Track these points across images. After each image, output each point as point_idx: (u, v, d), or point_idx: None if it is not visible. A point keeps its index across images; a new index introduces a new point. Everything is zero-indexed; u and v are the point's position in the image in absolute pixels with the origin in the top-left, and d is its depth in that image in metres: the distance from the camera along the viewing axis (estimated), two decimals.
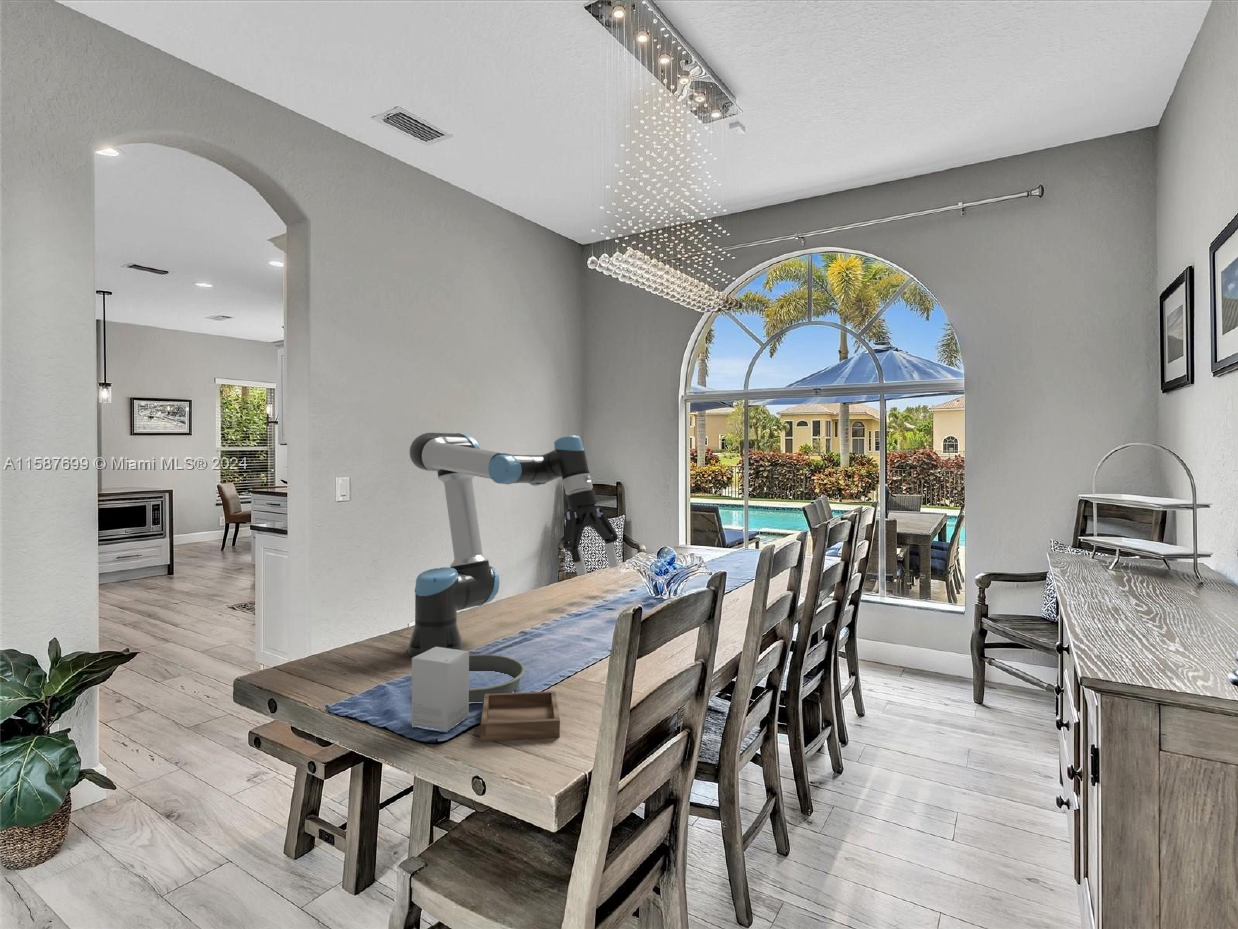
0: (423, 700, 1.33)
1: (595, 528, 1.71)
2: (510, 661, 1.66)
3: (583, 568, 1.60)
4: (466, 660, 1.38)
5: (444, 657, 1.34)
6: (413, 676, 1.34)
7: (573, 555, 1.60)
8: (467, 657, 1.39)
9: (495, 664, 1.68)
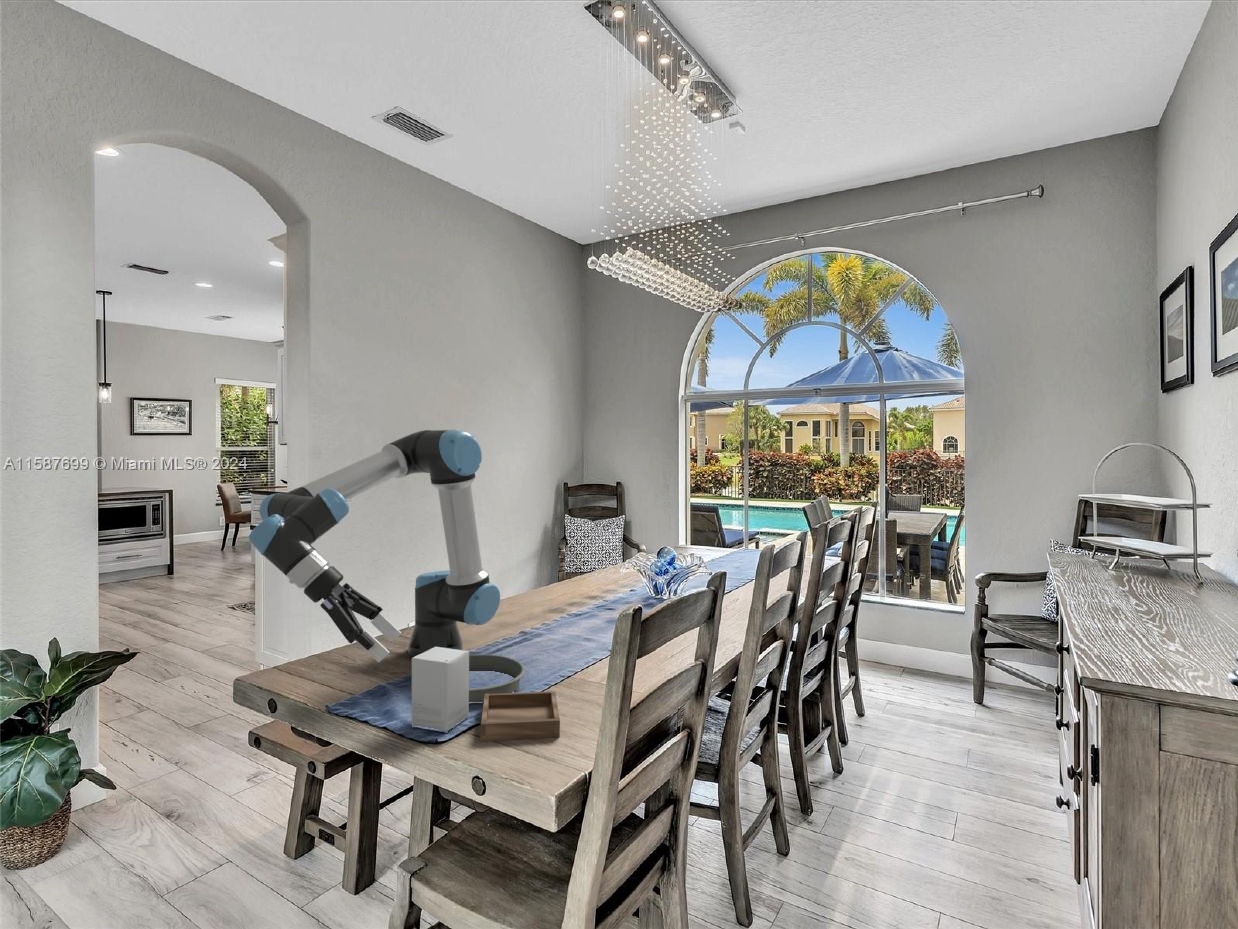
0: (423, 700, 1.33)
1: None
2: (510, 661, 1.66)
3: None
4: (466, 660, 1.38)
5: (444, 657, 1.34)
6: (413, 676, 1.34)
7: None
8: (467, 657, 1.39)
9: (495, 664, 1.68)
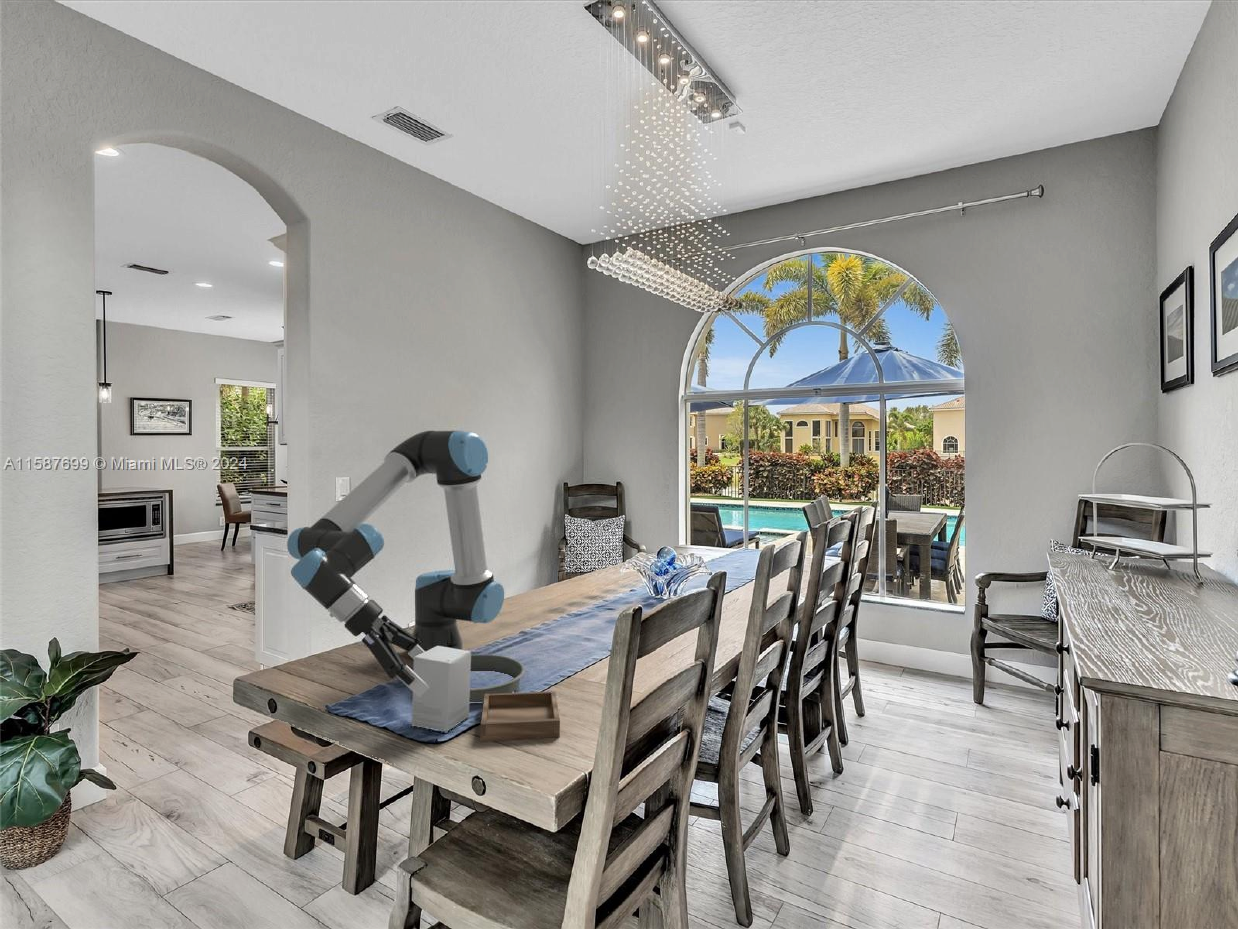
0: (423, 699, 1.33)
1: None
2: (510, 661, 1.66)
3: None
4: (468, 660, 1.38)
5: (446, 657, 1.34)
6: None
7: None
8: (469, 657, 1.38)
9: (495, 664, 1.68)
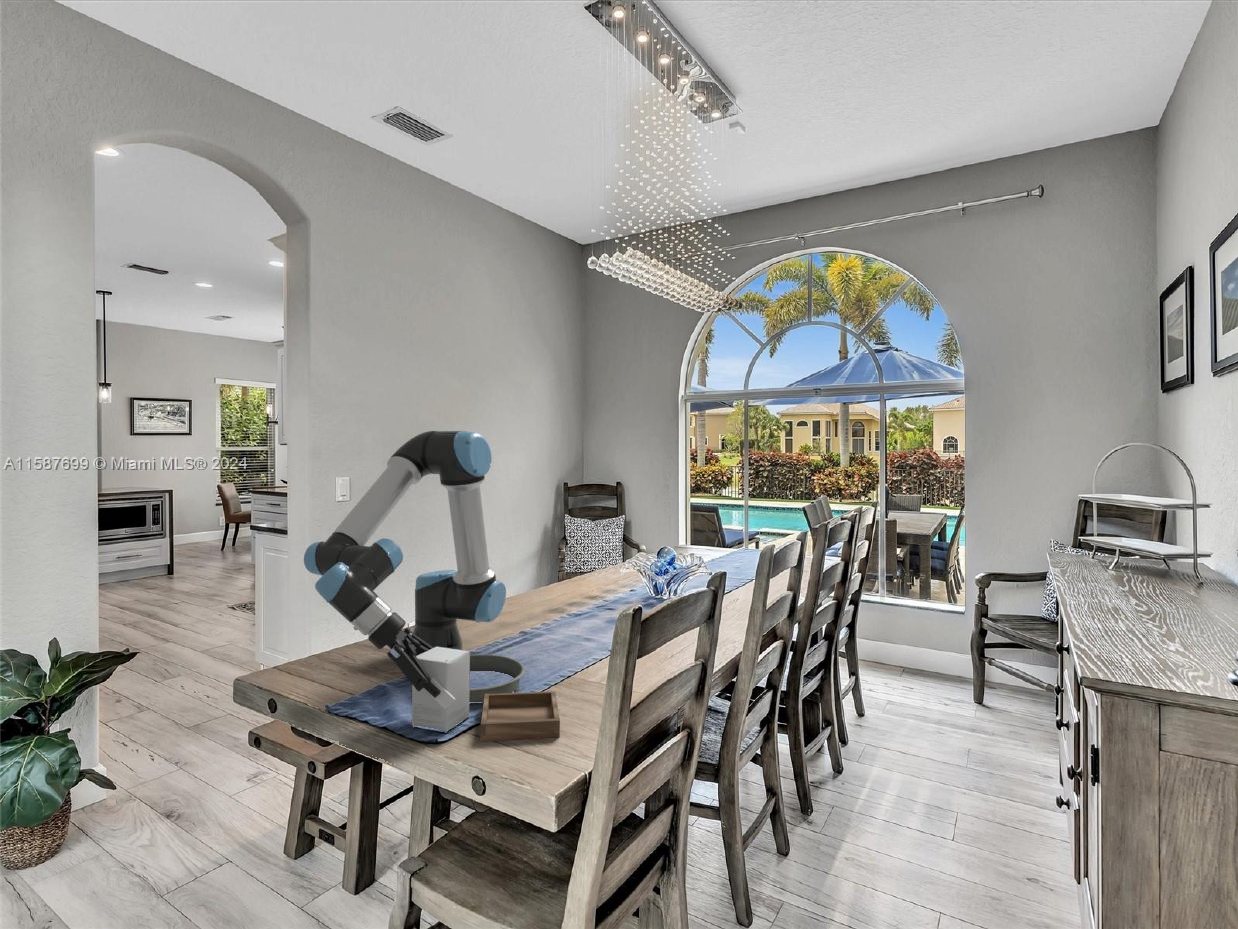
0: (423, 700, 1.33)
1: None
2: (510, 661, 1.66)
3: None
4: (467, 660, 1.38)
5: (444, 657, 1.34)
6: None
7: None
8: (468, 657, 1.38)
9: (495, 664, 1.68)
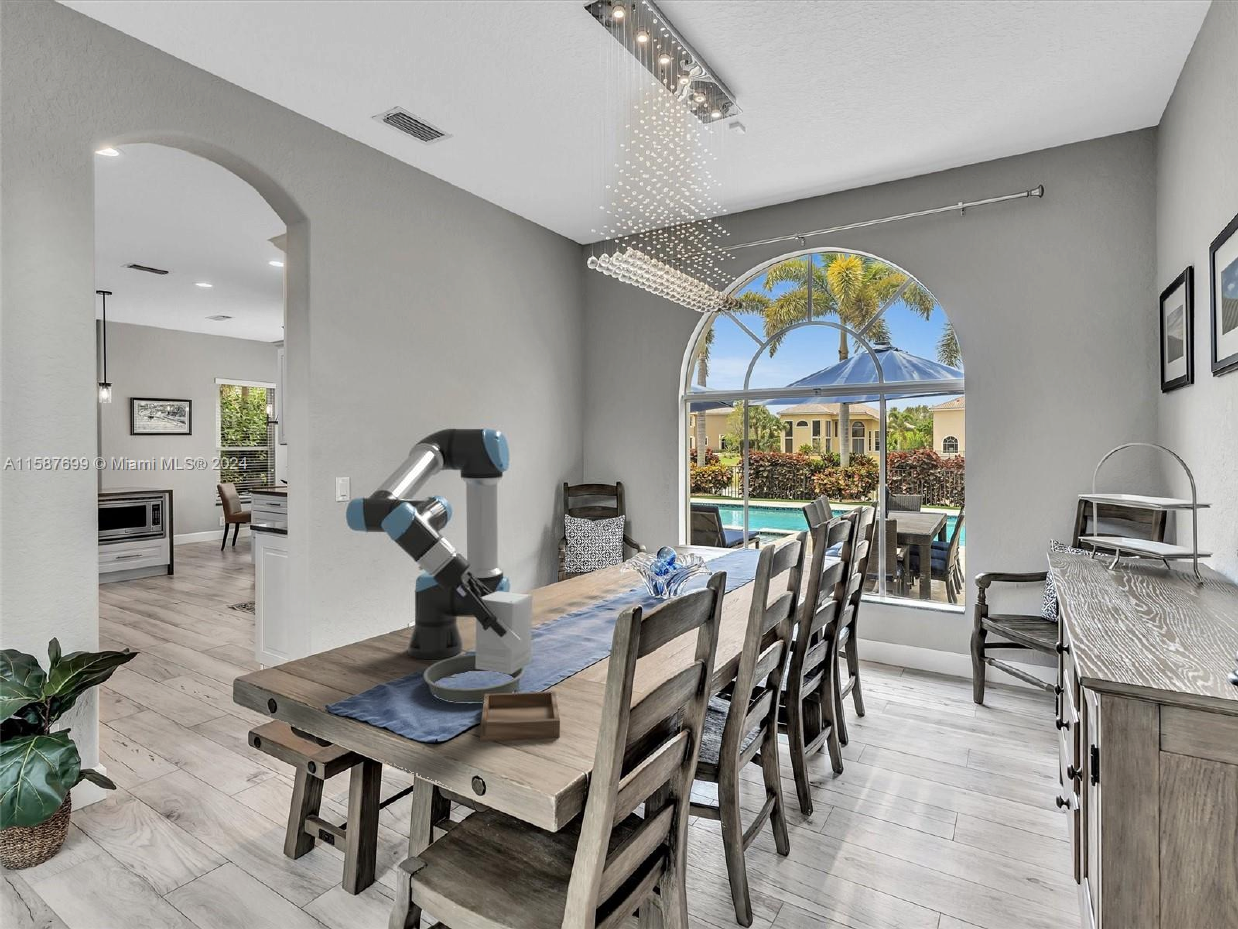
0: (487, 641, 1.32)
1: None
2: None
3: None
4: (529, 604, 1.37)
5: (508, 599, 1.34)
6: None
7: None
8: (530, 600, 1.38)
9: None
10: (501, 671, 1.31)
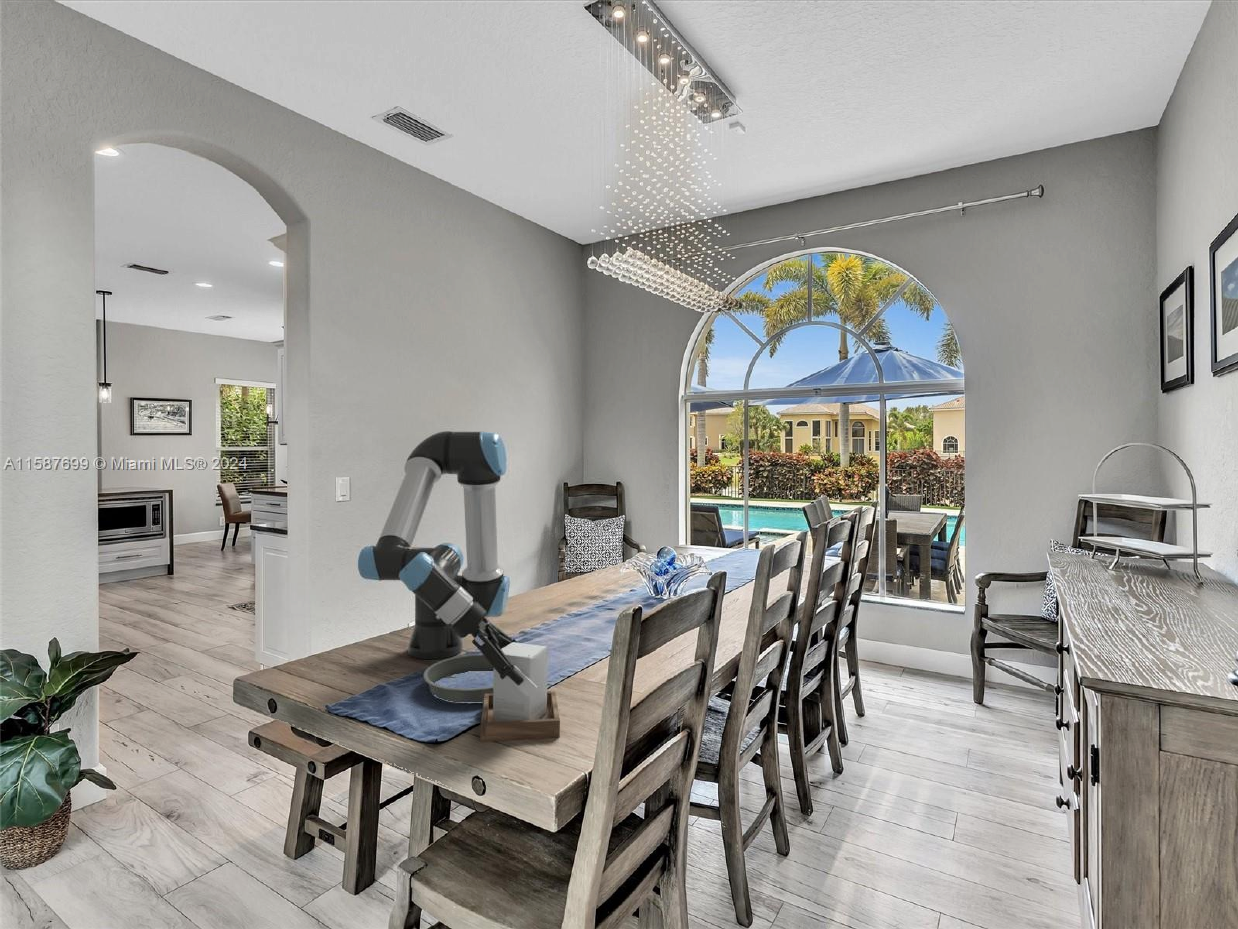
0: (505, 695, 1.34)
1: None
2: None
3: None
4: (545, 655, 1.39)
5: (525, 652, 1.35)
6: (495, 671, 1.35)
7: None
8: (546, 652, 1.40)
9: None
10: None
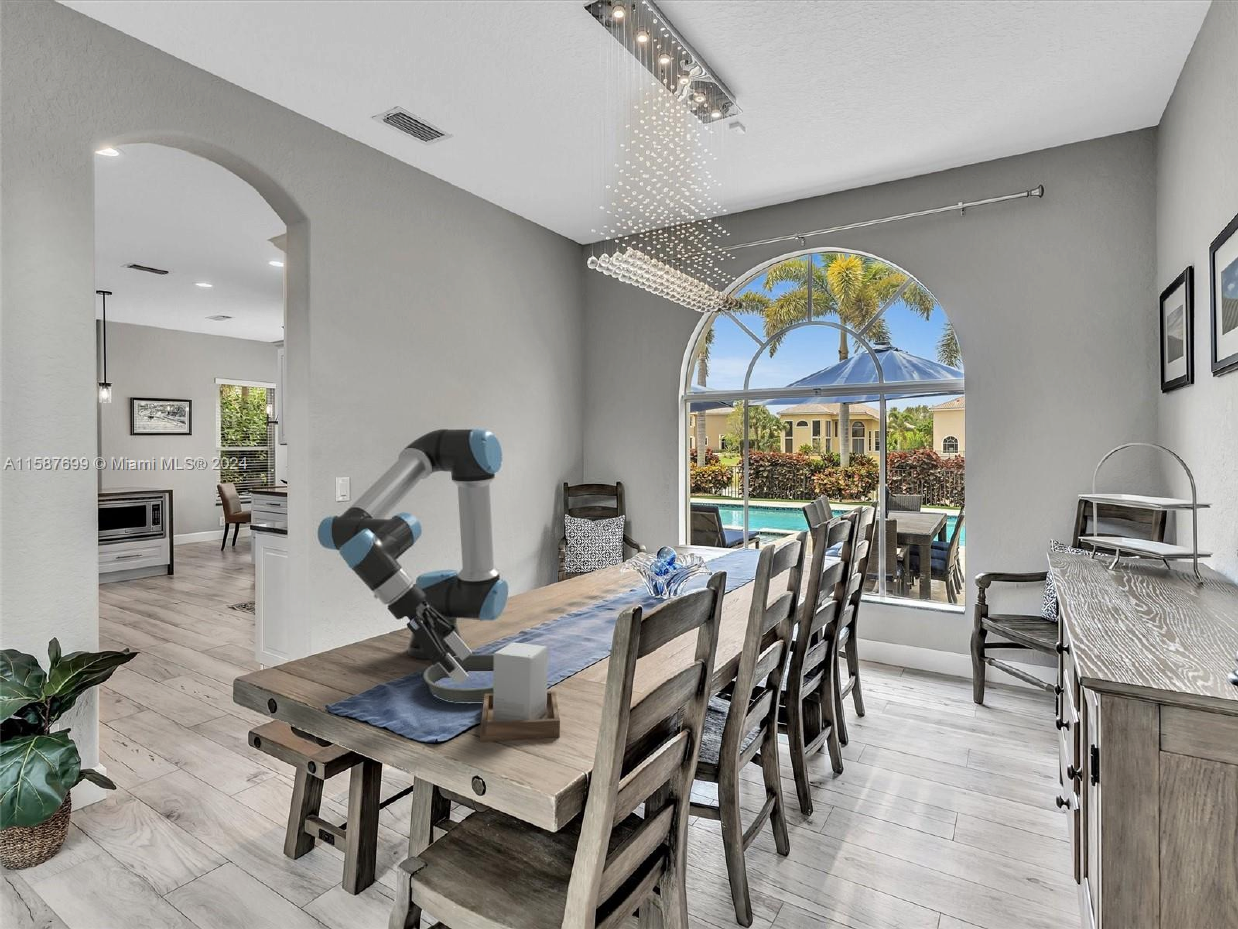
0: (505, 695, 1.34)
1: None
2: None
3: None
4: (545, 655, 1.39)
5: (525, 652, 1.35)
6: (495, 671, 1.35)
7: None
8: (546, 652, 1.40)
9: None
10: None
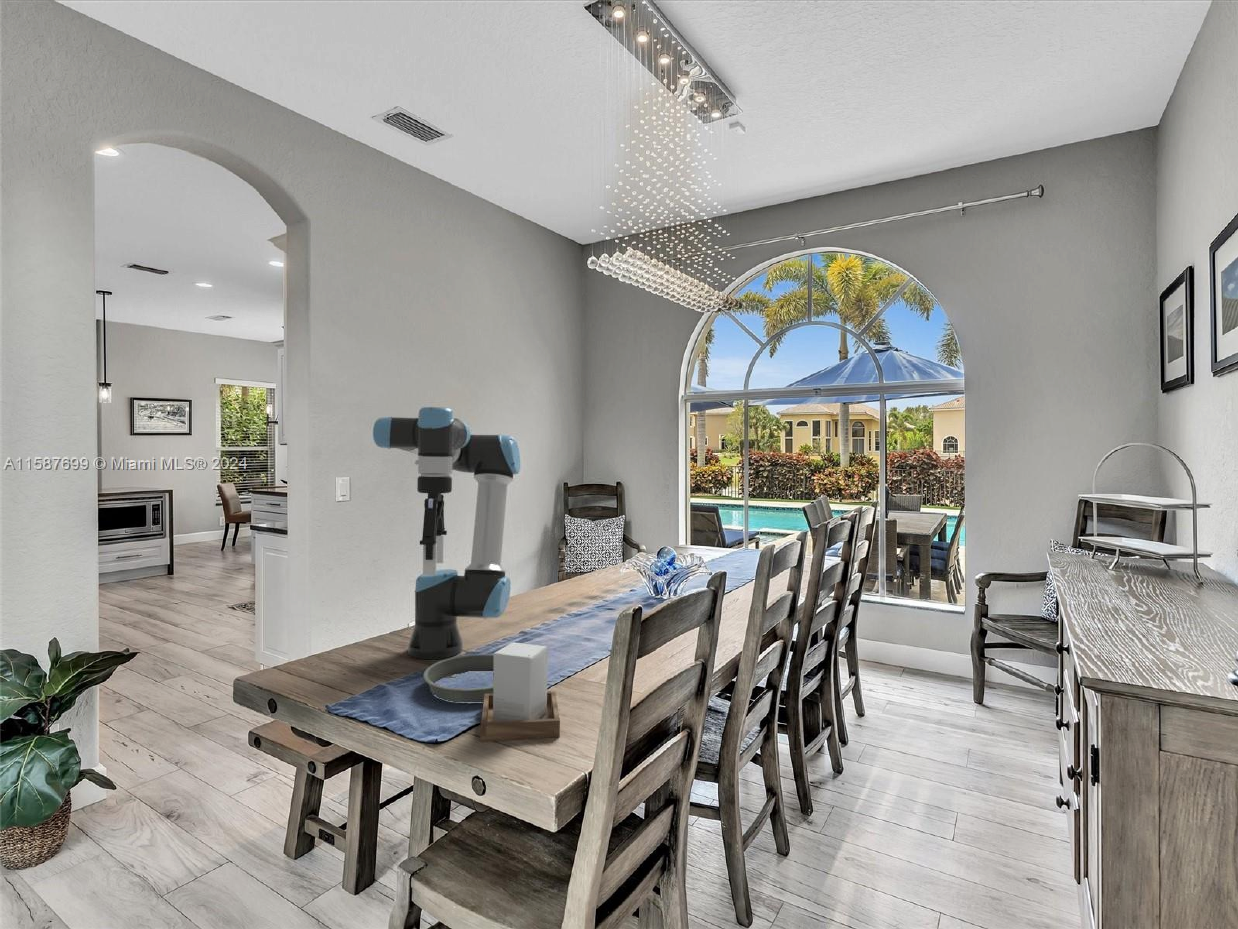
0: (505, 695, 1.34)
1: None
2: None
3: None
4: (545, 655, 1.39)
5: (525, 652, 1.35)
6: (495, 671, 1.35)
7: None
8: (546, 652, 1.40)
9: None
10: None
